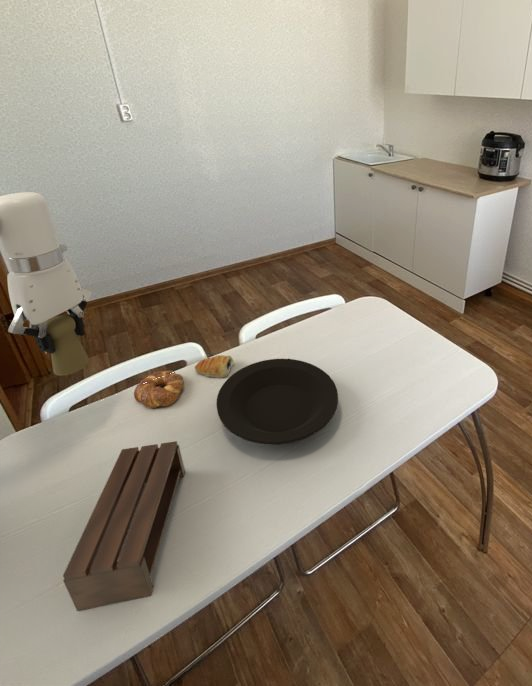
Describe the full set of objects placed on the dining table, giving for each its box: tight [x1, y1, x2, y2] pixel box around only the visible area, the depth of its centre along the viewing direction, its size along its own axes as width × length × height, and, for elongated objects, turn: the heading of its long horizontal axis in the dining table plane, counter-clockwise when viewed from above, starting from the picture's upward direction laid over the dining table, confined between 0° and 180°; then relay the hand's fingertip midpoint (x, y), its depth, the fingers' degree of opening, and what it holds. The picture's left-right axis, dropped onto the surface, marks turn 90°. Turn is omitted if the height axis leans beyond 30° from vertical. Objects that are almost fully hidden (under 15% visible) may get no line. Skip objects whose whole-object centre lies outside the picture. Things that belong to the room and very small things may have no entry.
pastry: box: [194, 354, 234, 379], centre depth 101 cm, size 9×7×4 cm
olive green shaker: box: [46, 315, 90, 377], centre depth 77 cm, size 6×6×11 cm
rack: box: [62, 440, 186, 612], centre depth 63 cm, size 10×20×8 cm, turn 10°
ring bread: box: [133, 370, 184, 409], centre depth 94 cm, size 12×11×4 cm
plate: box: [216, 358, 339, 446], centre depth 87 cm, size 28×24×6 cm
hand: (64, 341), depth 77 cm, fingers closed on olive green shaker, 5 cm apart
